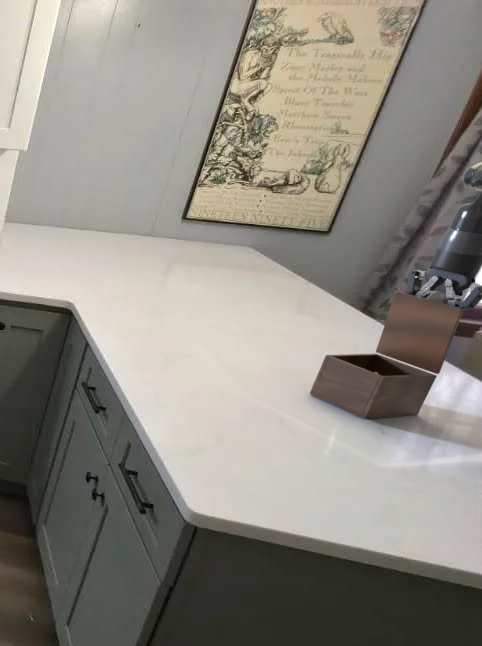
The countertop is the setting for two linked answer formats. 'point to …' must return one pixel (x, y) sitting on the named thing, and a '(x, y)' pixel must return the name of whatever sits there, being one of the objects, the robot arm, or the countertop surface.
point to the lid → (419, 331)
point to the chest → (372, 385)
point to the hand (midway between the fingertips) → (429, 319)
